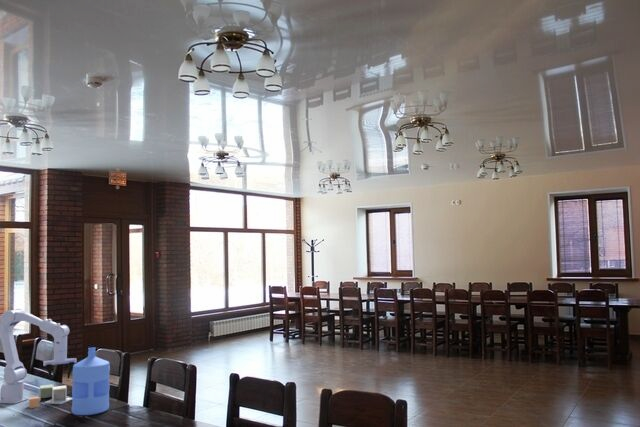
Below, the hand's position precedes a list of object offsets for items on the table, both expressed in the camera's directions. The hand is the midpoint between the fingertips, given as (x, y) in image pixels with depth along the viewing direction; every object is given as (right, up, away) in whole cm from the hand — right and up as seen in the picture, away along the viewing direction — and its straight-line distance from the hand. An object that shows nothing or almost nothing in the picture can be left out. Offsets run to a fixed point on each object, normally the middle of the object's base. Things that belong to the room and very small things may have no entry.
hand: (59, 379), depth 256 cm
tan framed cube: (0, -10, -1) cm, 10 cm away
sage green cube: (-9, -11, +4) cm, 14 cm away
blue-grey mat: (0, -10, -1) cm, 10 cm away
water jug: (+23, -9, -18) cm, 30 cm away
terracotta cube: (-7, -10, -10) cm, 15 cm away
